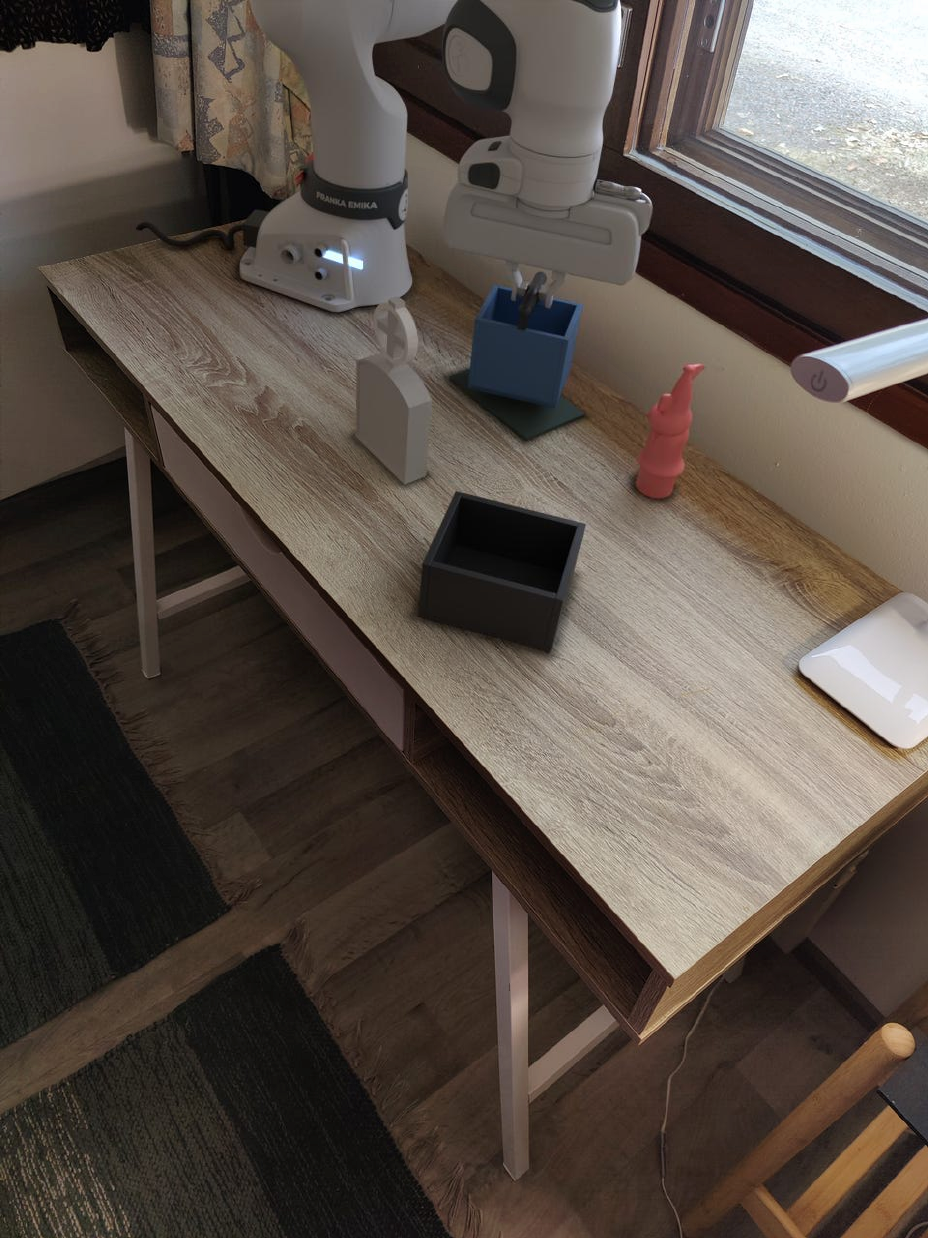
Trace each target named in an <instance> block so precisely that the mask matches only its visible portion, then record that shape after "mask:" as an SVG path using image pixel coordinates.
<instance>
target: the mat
mask: <svg viewBox="0 0 928 1238" xmlns="http://www.w3.org/2000/svg"><path fill="white" fill-rule="evenodd" d="M469 371H470V368H467V369H465V370H462V371H459V372H457V373H454V374H452V375H449V376H448V380H450V381H451V382H452V383H454V384H455V385H456V386H457V387H458V388H459V389H461V390H462V391H463V392H464V393H466V394H467V395H468V396H469V397H471V398H472V399H473V400H475V402H477V403H478V404H479V405H481V406H482V407H483V408H484V409H485V410H487V411H488V412H489V413H491V414H492V415H493V416H494V417H496V419H498V420H499V421H500V422H502V423H503V424H504V425H505V426H507V427H508V428H509V429H510V430H511V431H512V432H514V433H515V434H516V435H518V436H519V437H520V438H521V439H522V440H523V441H525V442H526V441H529V440H532V439H533V438H536V437H539V436H541V435H543V434H546V433H548V432H551V431H553V430H555V429H557V428H560V427H562V426H565V425H567V424H569V423H572V422H574V421H577V420H579V419H582V418H584V417H585V414H586V413H585V412H584V411H582V410H581V409H580V408H579V407H577V406H576V405H575V404H573V403H572V402H570V401H569V400H568V399H566V398H565V397H564V396H563V395H561V396H560V399H559V401H558V404H557V407H556V409H555V408H551V407H547V406H543V405H538V404H534V403H530V402H526V401H521V400H517V399H513V398H509V397H504V396H500V395H496V394H492V393H488V392H483V391H479V390H475V389H471V388H468V380H469Z"/></svg>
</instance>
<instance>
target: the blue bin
mask: <svg viewBox="0 0 928 1238" xmlns="http://www.w3.org/2000/svg"><path fill="white" fill-rule="evenodd" d="M547 280H548V276H547V273H545V272H544V271H538V272H536V273H535V274H534V276H533V278H532V280H531V282H530V283H529V288H528V290H527V292H526V294H525V296H524V298H523V300H522V302H517V301H513V300H511V296H512V288H513V287H509V286H504V285H498V284H495V283H494V284H493V286H492V288H491V289H490V291H489V293H488V295H487V297H486V299H485V300H484V302H483V304H482V306H481V308H480V309H479V311H478V313H477V315H476V317H475V318H474V325H473V335H472V343H471V351H470V352H471V353H470V361H469V362H470V363H469V369H470V371H469V380H468V388H471V389H475V390H479V391H483V392H488V393H492V394H496V395H500V396H504V397H509V398H513V399H517V400H521V401H526V402H530V403H534V404H538V405H543V406H547V407H551V408H555V409H556V407H557V404H558V401H559V399H560V396H562V394H563V391H564V388H565V385H566V383H567V380H568V377H569V375H570V372H571V369H572V364H573V357H574V354H575V348H576V342H577V338H578V332H579V327H580V322H581V317H582V313H583V308H584V307H583V306H584V304H583V303H579V302H575V301H572V300H567V299H561V298H557V297H553V301H552V305H551V307H550V309H549V308H544V307H540V306H536V304H537V300H538V298H537V297H538V292H539V289H540V287H541V285H546V283H547Z"/></svg>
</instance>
